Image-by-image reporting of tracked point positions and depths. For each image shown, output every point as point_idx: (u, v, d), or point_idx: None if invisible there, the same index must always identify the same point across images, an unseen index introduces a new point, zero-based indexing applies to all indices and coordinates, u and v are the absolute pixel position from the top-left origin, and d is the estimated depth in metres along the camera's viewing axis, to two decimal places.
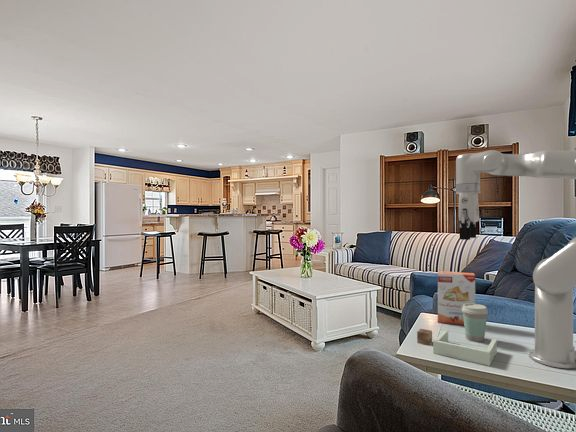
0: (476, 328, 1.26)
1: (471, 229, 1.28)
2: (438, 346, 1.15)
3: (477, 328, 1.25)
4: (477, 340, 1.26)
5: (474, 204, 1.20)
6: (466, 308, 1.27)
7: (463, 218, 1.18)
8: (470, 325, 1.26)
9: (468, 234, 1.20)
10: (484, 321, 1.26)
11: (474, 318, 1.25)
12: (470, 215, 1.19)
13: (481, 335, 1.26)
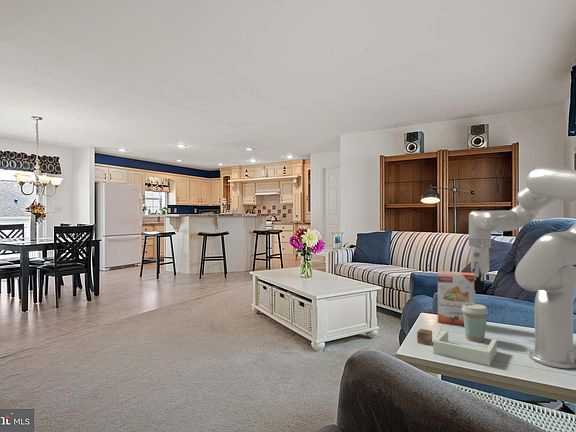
0: (476, 328, 1.26)
1: None
2: (438, 346, 1.15)
3: (477, 328, 1.25)
4: (477, 340, 1.26)
5: (485, 258, 1.32)
6: (466, 308, 1.27)
7: (477, 277, 1.33)
8: (470, 325, 1.26)
9: (482, 286, 1.36)
10: (484, 321, 1.26)
11: (474, 318, 1.25)
12: (482, 268, 1.32)
13: (481, 335, 1.26)
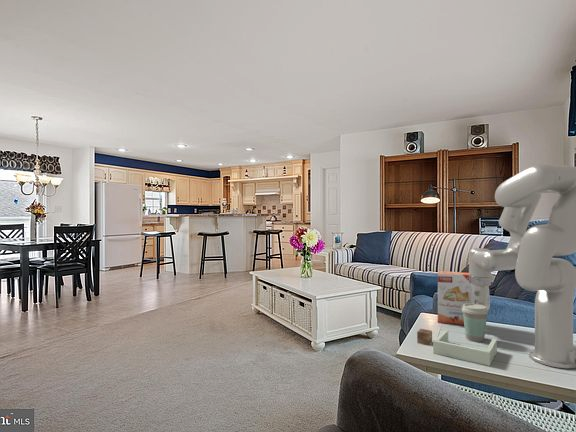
0: (476, 328, 1.26)
1: None
2: (438, 346, 1.15)
3: (477, 328, 1.25)
4: (477, 340, 1.26)
5: (486, 297, 1.32)
6: (466, 308, 1.27)
7: None
8: (470, 325, 1.26)
9: None
10: (484, 321, 1.26)
11: (474, 318, 1.25)
12: None
13: (481, 335, 1.26)
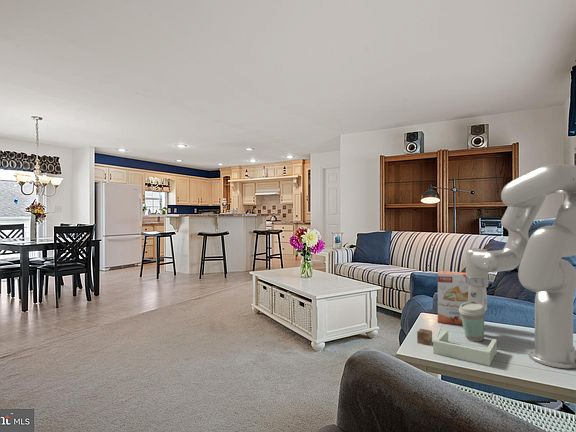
0: (475, 328, 1.25)
1: None
2: (438, 346, 1.15)
3: (475, 329, 1.25)
4: (477, 340, 1.26)
5: (482, 298, 1.29)
6: (463, 310, 1.27)
7: None
8: (469, 326, 1.26)
9: None
10: (482, 321, 1.25)
11: (471, 319, 1.25)
12: None
13: (481, 334, 1.26)
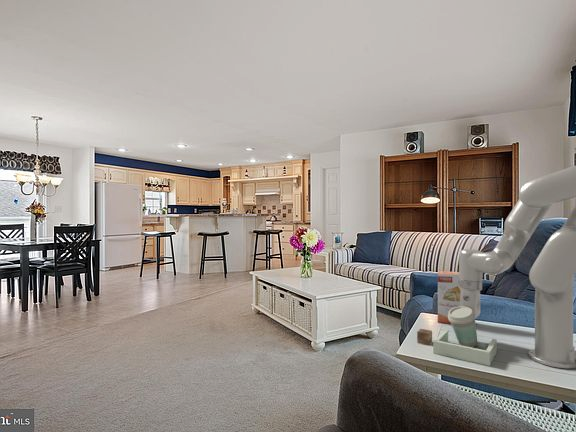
0: (465, 335, 1.19)
1: None
2: (438, 346, 1.15)
3: (466, 336, 1.19)
4: (469, 346, 1.20)
5: (475, 302, 1.22)
6: (451, 317, 1.20)
7: None
8: (459, 333, 1.20)
9: None
10: (472, 327, 1.18)
11: (460, 327, 1.18)
12: None
13: (473, 340, 1.19)
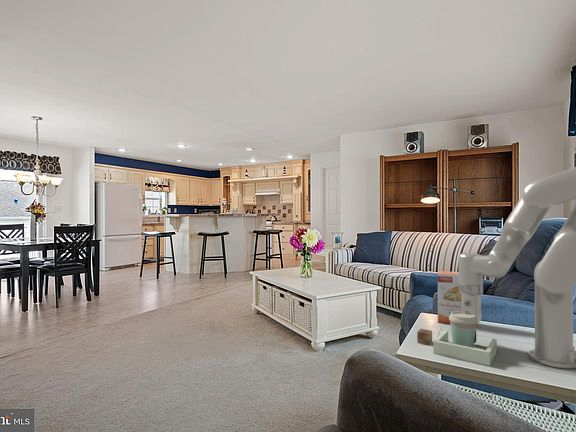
0: (461, 338, 1.15)
1: None
2: (438, 346, 1.15)
3: (462, 339, 1.15)
4: None
5: (477, 307, 1.19)
6: (451, 316, 1.18)
7: None
8: (455, 335, 1.17)
9: None
10: (470, 331, 1.15)
11: (458, 327, 1.16)
12: None
13: (467, 346, 1.15)
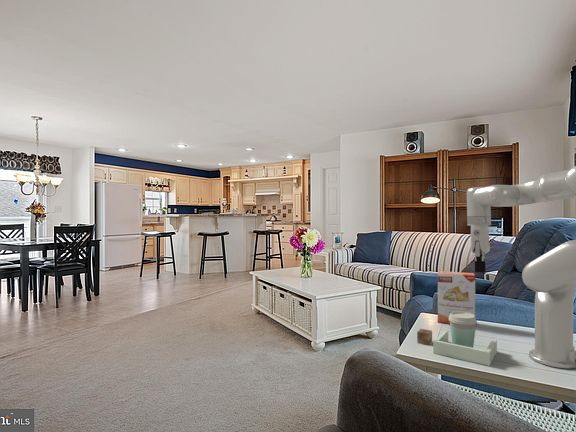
0: (460, 339, 1.15)
1: None
2: (438, 346, 1.15)
3: (461, 339, 1.15)
4: None
5: (486, 236, 1.24)
6: (451, 316, 1.18)
7: (478, 257, 1.25)
8: (455, 335, 1.17)
9: (483, 267, 1.27)
10: (470, 332, 1.14)
11: (457, 327, 1.15)
12: (483, 247, 1.23)
13: None
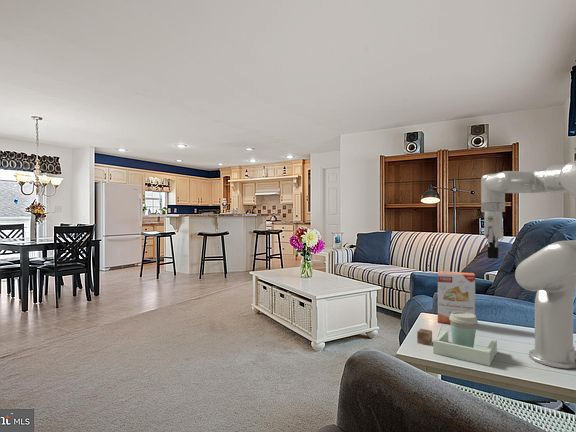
0: (461, 338, 1.15)
1: None
2: (438, 346, 1.15)
3: (461, 339, 1.15)
4: None
5: (499, 222, 1.26)
6: (452, 316, 1.18)
7: (491, 242, 1.26)
8: (455, 335, 1.17)
9: (496, 253, 1.29)
10: (470, 332, 1.15)
11: (458, 327, 1.16)
12: (496, 233, 1.25)
13: (467, 346, 1.15)
